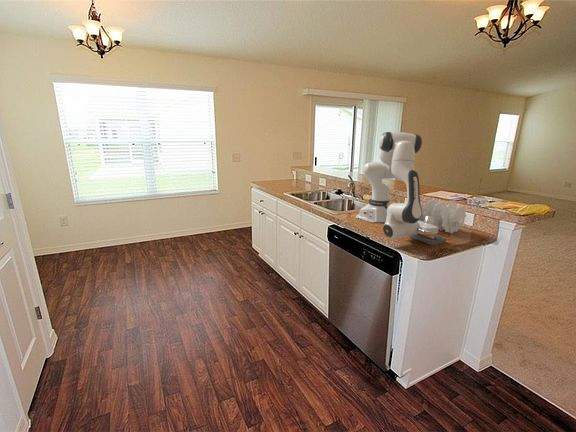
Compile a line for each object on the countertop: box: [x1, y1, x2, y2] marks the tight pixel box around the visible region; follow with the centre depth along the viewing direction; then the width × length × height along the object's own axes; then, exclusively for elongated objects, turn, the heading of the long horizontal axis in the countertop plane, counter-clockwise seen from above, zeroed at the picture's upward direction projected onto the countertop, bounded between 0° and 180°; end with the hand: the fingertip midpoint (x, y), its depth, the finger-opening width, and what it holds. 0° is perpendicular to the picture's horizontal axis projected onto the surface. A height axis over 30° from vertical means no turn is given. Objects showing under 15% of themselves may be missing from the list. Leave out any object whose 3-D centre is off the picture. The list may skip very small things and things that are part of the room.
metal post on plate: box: [417, 216, 436, 239], centre depth 160 cm, size 11×5×11 cm, turn 24°
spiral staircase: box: [418, 199, 467, 235], centre depth 177 cm, size 18×18×25 cm
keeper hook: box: [433, 234, 443, 241], centre depth 156 cm, size 3×3×2 cm
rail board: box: [409, 234, 447, 246], centre depth 166 cm, size 25×10×2 cm, turn 24°
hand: (429, 224), depth 160 cm, fingers closed on metal post on plate, 4 cm apart
